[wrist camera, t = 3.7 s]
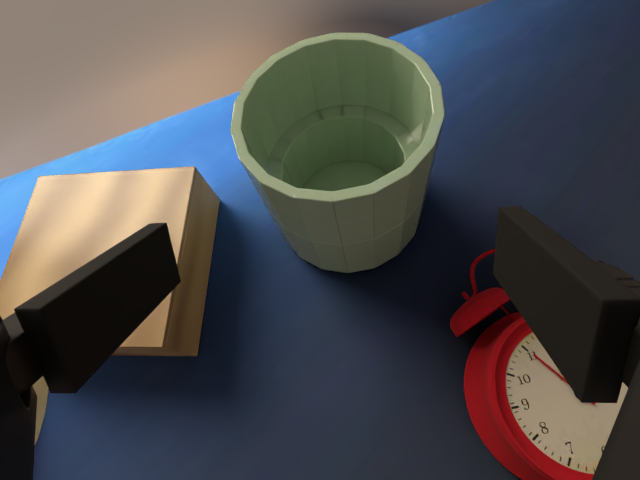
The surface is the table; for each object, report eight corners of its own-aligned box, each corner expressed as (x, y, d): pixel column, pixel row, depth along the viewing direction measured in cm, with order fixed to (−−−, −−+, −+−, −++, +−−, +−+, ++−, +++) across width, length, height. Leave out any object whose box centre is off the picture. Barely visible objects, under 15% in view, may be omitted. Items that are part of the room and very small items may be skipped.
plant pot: (414, 146, 32) (432, 21, 21) (426, 274, 27) (456, 196, 17) (284, 155, 33) (242, 42, 23) (275, 277, 29) (218, 207, 19)
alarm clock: (536, 564, 18) (439, 255, 21) (489, 499, 24) (419, 268, 27) (763, 514, 17) (629, 207, 20) (655, 461, 23) (565, 231, 26)
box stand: (220, 199, 33) (195, 166, 28) (197, 356, 27) (162, 347, 23) (83, 206, 34) (38, 176, 30) (38, 355, 29) (-25, 346, 25)
